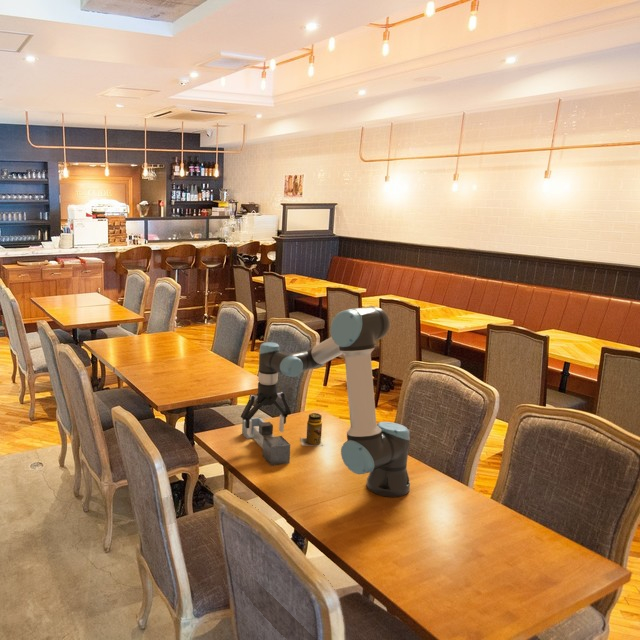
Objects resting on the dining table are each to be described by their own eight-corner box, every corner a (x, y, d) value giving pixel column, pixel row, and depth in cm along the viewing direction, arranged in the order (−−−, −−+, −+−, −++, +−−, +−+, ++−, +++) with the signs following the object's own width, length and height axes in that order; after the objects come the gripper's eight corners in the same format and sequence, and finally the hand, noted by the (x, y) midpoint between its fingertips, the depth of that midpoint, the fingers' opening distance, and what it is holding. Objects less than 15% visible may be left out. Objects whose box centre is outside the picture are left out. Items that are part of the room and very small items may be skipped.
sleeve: (289, 463, 224) (290, 444, 222) (271, 465, 221) (271, 447, 219) (280, 453, 232) (281, 435, 230) (262, 456, 228) (263, 438, 227)
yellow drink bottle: (322, 446, 241) (324, 418, 239) (302, 446, 240) (303, 418, 238) (320, 438, 248) (322, 411, 246) (300, 438, 247) (301, 411, 245)
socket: (264, 436, 247) (265, 422, 246) (246, 439, 243) (247, 424, 242) (259, 431, 252) (259, 417, 251) (242, 433, 249) (242, 419, 247)
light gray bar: (284, 458, 225) (285, 436, 223) (273, 460, 223) (274, 438, 221) (263, 436, 244) (264, 416, 242) (252, 438, 242) (253, 417, 240)
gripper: (293, 376, 239) (290, 426, 244) (234, 381, 228) (232, 433, 233) (300, 382, 233) (297, 433, 237) (240, 387, 222) (238, 440, 226)
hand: (265, 433), depth 235 cm, fingers open, 13 cm apart
